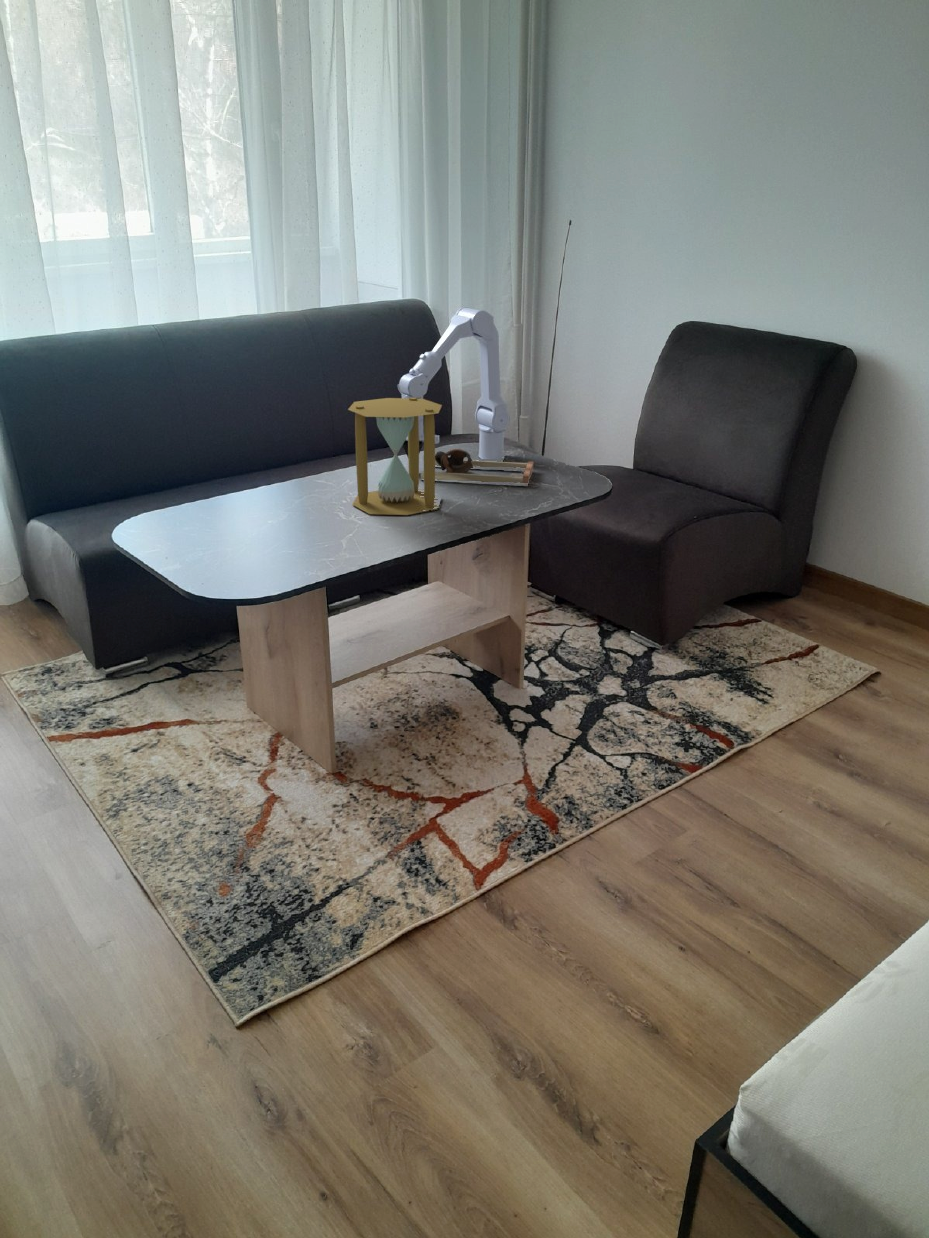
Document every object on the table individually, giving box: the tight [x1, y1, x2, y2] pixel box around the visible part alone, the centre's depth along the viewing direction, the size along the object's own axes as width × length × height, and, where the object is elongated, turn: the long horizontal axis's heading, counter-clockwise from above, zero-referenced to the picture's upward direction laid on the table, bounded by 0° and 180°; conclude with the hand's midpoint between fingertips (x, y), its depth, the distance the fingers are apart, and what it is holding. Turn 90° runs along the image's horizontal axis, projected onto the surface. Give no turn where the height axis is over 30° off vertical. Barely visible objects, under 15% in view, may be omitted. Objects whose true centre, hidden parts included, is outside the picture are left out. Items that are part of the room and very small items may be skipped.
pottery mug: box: [435, 448, 473, 474], centre depth 263 cm, size 12×9×8 cm
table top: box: [420, 459, 534, 483], centre depth 262 cm, size 15×30×3 cm, turn 81°
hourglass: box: [347, 397, 443, 516], centre depth 235 cm, size 24×22×25 cm
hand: (413, 467), depth 264 cm, fingers closed
